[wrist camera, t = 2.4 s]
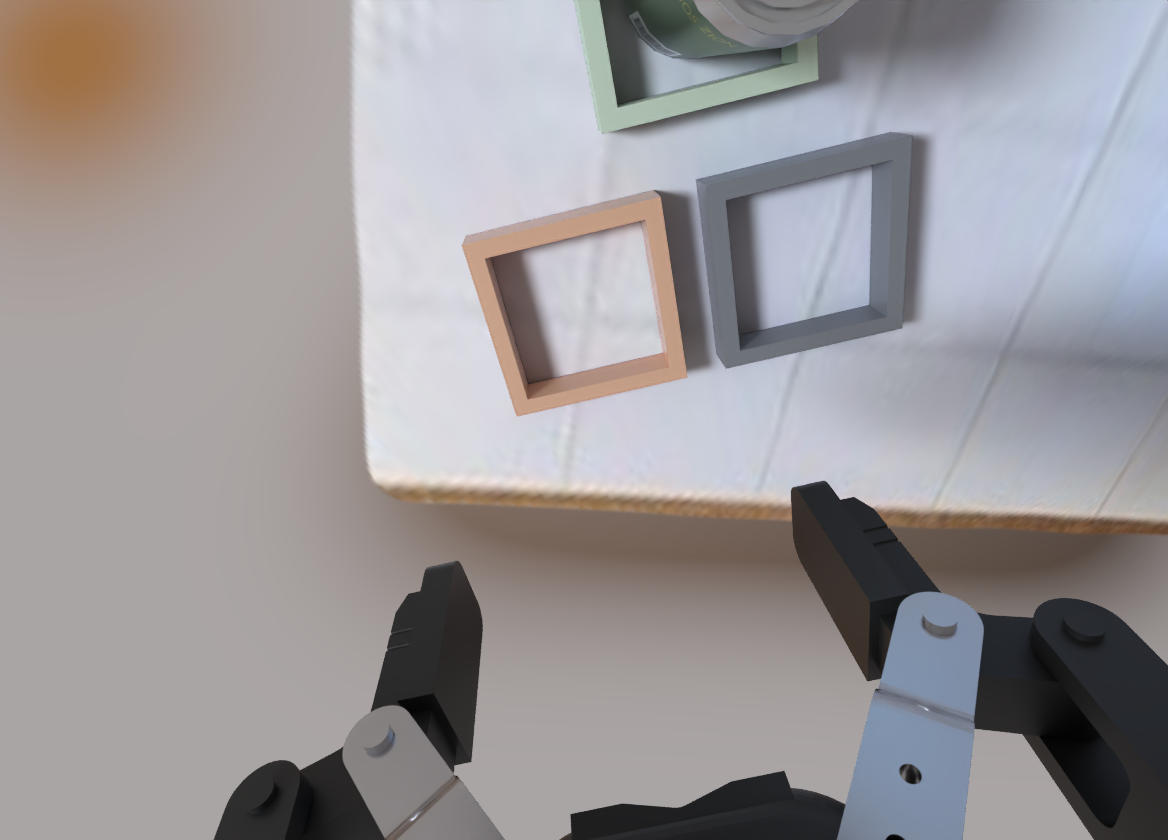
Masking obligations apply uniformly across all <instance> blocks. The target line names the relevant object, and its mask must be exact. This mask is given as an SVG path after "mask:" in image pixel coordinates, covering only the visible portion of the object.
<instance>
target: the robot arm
mask: <svg viewBox="0 0 1168 840" xmlns="http://www.w3.org/2000/svg"><path fill="white" fill-rule="evenodd" d="M791 505H792V524H793V538H794V543H795V548H796V551H797V554H798V557H799V559H800V561H801V563H802V565H803V567H804V569H805V571H806V572H807V574H808V576H809V578H810V580H811V581H812V583H813V585H814V586H815V589H816V590H817V592H818V594H819V596H820V597H821V599H822V601H823V603H824V605H825V606H826V608H827V610H828V612H829V613H830V615H831V617H832V619H833V621H834V622H835V624H836V626H837V628H838V630H839V631H840V633H841V635H842V637H843V639H844V640H845V642H846V644H847V646H848V647H849V649H850V651H851V653H852V655H853V656H854V658H855V660H856V662H857V664H858V665H859V667H860V669H861V671H862V673H863V674H864V676H865V678H866V680H867V681H872V680H877V679H881V682H880V685H879V689H876V690H875V692H874V694H873V698H872V701H871V705H870V709H869V713H868V717H867V721H866V725H865V730H864V733H863V737H862V741H861V745H860V749H859V753H858V758H857V761H856V765H855V769H854V773H853V777H852V781H851V785H850V789H849V793H848V797H847V801H846V805H845V804H843V803H841V802H839V801H837V800H835V799H833V798H830V797H828V796H825V795H822V794H819V793H816V792H813V791H808V790H803V789H795V788H790V785H789V782H788V779H787V777H786V774H785V772H784V771H782V772H776V773H771V774H767V775H762V776H757V777H752V778H747V779H742V780H737V781H732V782H730V783H728V784H726V785H724V786H722V787H720V788H718V789H716V790H714V791H712V792H710V793H709V794H707V795H705V796H703V797H701V798H699V799H697V800H695V801H693V802H692V803H689V804H687V805H685V806H683V807H679V808H670V807H657V806H644V805H633V804H618V805H613V806H609V807H604V808H599V809H594V810H589V811H584V812H579V813H574V814H571V832H572V833H570V834H568V835H566V836H564V837H563V838H561V839H560V840H962V839H963V831H964V821H965V812H966V803H967V794H968V784H969V776H970V766H971V757H972V747H973V739H974V729H982V730H991V731H1000V732H1010V733H1018V734H1023V736H1024V737H1025V739H1026V740H1027V741H1028V743H1029V744H1030V746H1031V747H1032V749H1033V750H1034V752H1035V753H1036V755H1037V756H1038V758H1039V759H1040V761H1041V762H1042V763H1043V765H1044V766H1045V768H1046V770H1047V771H1048V772H1049V774H1050V775H1051V777H1052V778H1053V780H1054V781H1055V783H1056V784H1057V786H1058V787H1059V789H1060V790H1061V792H1062V793H1063V795H1064V796H1065V797H1066V799H1067V801H1068V802H1069V803H1070V805H1071V806H1072V808H1073V809H1074V811H1075V812H1076V814H1077V815H1078V817H1079V818H1080V820H1081V821H1082V823H1083V824H1084V826H1085V827H1086V829H1087V830H1088V832H1089V833H1090V834H1091V836H1092V837H1093V839H1094V840H1168V665H1167V664H1166V663H1165V662H1164V661H1163V660H1162V659H1161V658H1160V657H1159V656H1158V655H1157V654H1156V653H1155V652H1154V651H1153V650H1152V649H1151V648H1150V647H1149V646H1148V645H1147V644H1146V643H1145V642H1144V641H1143V640H1142V639H1141V638H1140V637H1139V636H1138V635H1137V634H1136V633H1135V632H1134V631H1133V630H1132V629H1131V628H1130V627H1129V626H1128V625H1127V624H1126V623H1125V622H1124V621H1123V620H1121V619H1120V618H1119V617H1118V616H1116V615H1115V614H1114V613H1112V612H1110V611H1109V610H1107V609H1105V608H1103V607H1101V606H1098V605H1096V604H1093V603H1090V602H1087V601H1083V600H1078V599H1070V598H1059V599H1053V600H1049V601H1047V602H1044V603H1042V604H1041V605H1040V606H1039V607H1038V608H1037V609H1036V611H1035V613H1034V617H1033V618H1027V617H1010V616H994V615H986V614H981V613H977V612H976V611H975V610H974V609H972V607H970V606H969V605H968V604H966V603H965V602H963V601H962V600H960V599H958V598H956V597H953V596H950V595H947V594H943V593H941V592H940V591H939V590H938V588H937V587H936V586H935V585H934V583H933V582H932V581H931V580H930V578H929V577H928V576H927V575H926V573H925V572H924V571H923V570H922V568H921V567H920V566H919V565H918V563H917V562H916V561H915V560H914V558H913V557H912V556H911V555H910V553H909V552H908V551H907V550H906V548H905V547H904V546H903V545H902V543H901V542H898V538H897V537H896V536H895V535H894V534H893V532H892V531H891V530H890V528H889V529H888V527H887V525H886V523H885V522H884V521H883V520H882V518H881V517H880V516H879V515H878V513H877V512H876V511H875V510H874V509H873V508H871V507H870V506H868V505H866V504H865V503H863V502H861V501H860V500H858V499H856V498H855V497H852V498H847V499H843V500H840V499H839V498H838V496H837V495H836V493H835V492H834V491H833V489H832V488H831V487H830V485H829V484H828V483H827V482H826V481H820V482H815V483H811V484H806V485H802V486H797V487H793V488H792V490H791ZM482 627H483V624H482V616H481V611H480V607H479V604H478V602H477V599H476V597H475V595H474V593H473V590H472V588H471V586H470V583H469V581H468V579H467V576H466V574H465V572H464V570H463V567H462V565H461V564H460V563H459V561H454V562H450V563H445V564H441V565H436V566H432V567H428V568H426V570H425V573H424V577H423V582H422V587H421V591H419V592H415V593H411V594H408V595H407V597H406V599H405V600H404V601H403V603H402V604H401V606H400V607H399V609H398V610H397V612H396V614H395V618H394V622H393V626H392V630H391V634H392V635H391V636H390V638H389V642H388V646H387V649H388V651H387V652H386V654H385V658H384V662H383V666H382V670H381V674H380V678H379V682H378V686H377V690H376V694H375V697H374V702H373V705H372V709H371V712H370V713H369V714H367V715H366V716H364V717H363V718H362V719H361V720H360V721H359V722H358V723H357V724H356V725H355V726H354V728H353V729H352V730H351V731H350V733H349V735H348V737H347V738H346V741H345V744H344V747H342V748H341V749H339V750H338V751H336V752H334V753H332V754H331V755H328V756H327V757H325V758H323V759H321V760H319V761H317V762H315V763H313V764H311V765H310V766H307V767H306V768H304V769H302V770H299V769H298V768H297V767H296V766H295V765H294V764H293V763H292V762H290V761H285V760H279V761H274V762H271V763H268V764H266V765H264V766H262V767H260V768H258V769H257V770H255V771H254V772H253V773H251V774H250V775H249V776H248V777H247V778H246V779H245V780H243V782H242V783H241V784H240V785H239V786H238V787H237V788H236V790H235V791H234V793H233V794H232V796H231V797H230V799H229V801H228V803H227V806H226V808H225V811H224V813H223V816H222V819H221V821H220V824H219V827H218V830H217V833H216V835H215V838H214V840H505V839H504V838H503V836H502V835H501V834H500V832H499V831H498V830H497V828H496V827H495V825H494V824H493V823H492V822H491V820H490V819H489V817H488V816H487V815H486V813H485V812H484V811H483V809H482V808H481V806H480V805H479V804H478V802H477V801H476V800H475V798H474V797H473V796H472V794H471V793H470V792H469V790H468V789H467V787H466V786H465V785H464V783H463V782H462V781H461V780H460V779H459V777H458V776H455V775H454V765H458V764H463V763H468V762H471V758H472V747H473V736H474V724H475V713H476V712H475V711H476V701H477V689H478V677H479V666H480V655H481V643H482V631H483V628H482Z"/></svg>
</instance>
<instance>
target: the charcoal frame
mask: <svg viewBox="0 0 1168 840" xmlns="http://www.w3.org/2000/svg"><path fill="white" fill-rule="evenodd" d="M911 153H912V135H906V134H899V133H893V132H890V133H885V134H881V135H877V136H873V137H869V138H865V139H861V140H857V141H853V142H849V143H845V144H840V145H836V146H832V147H828V148H824V149H820V150H816V151H812V152H808V153H804V154H799V155H795V156H791V157H787V158H783V159H779V160H775V161H771V162H767V163H763V164H759V165H754V166H750V167H746V168H742V169H738V170H734V171H730V172H726V173H722V174H718V175H713V176H709V177H705V178H701V179H697V180H696V183H697V192H698V200H699V209H700V217H701V226H702V234H703V243H704V251H705V260H706V268H707V277H708V285H709V294H710V302H711V311H712V319H713V328H714V336H715V345H716V353H717V356H718V357H719V359H720V360H721V362H722V363H723V365H724V366H725V368H731V367H735V366H740V365H744V364H748V363H753V362H757V361H761V360H766V359H770V358H774V357H779V356H783V355H788V354H792V353H796V352H801V351H805V350H809V349H814V348H818V347H822V346H827V345H831V344H836V343H840V342H844V341H849V340H853V339H857V338H862V337H866V336H870V335H875V334H879V333H884V332H888V331H892V330H897V329H901V328H902V324H903V305H904V286H905V267H906V248H907V229H908V210H909V191H910V172H911ZM869 165H873V170H872V214H871V259H870V303H869V305H868V306H864V307H860V308H855V309H851V310H847V311H842V312H838V313H834V314H829V315H825V316H821V317H817V318H812V319H808V320H804V321H799V322H795V323H791V324H786V325H782V326H778V327H773V328H769V329H765V330H760V331H756V332H752V333H747V334H743V335H738V324H737V314H736V303H735V293H734V282H733V272H732V261H731V251H730V240H729V230H728V219H727V209H726V200H729V199H733V198H737V197H741V196H745V195H749V194H753V193H758V192H762V191H766V190H770V189H774V188H778V187H782V186H786V185H791V184H795V183H799V182H803V181H807V180H811V179H815V178H820V177H824V176H828V175H832V174H836V173H840V172H844V171H848V170H853V169H857V168H861V167H865V166H869Z"/></svg>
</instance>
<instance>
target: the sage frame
mask: <svg viewBox="0 0 1168 840" xmlns="http://www.w3.org/2000/svg"><path fill="white" fill-rule="evenodd" d="M574 4H575V9H576V15H577V20H578V25H579V31H580V36H581V41H582V47H583V52H584V57H585V62H586V68H587V73H588V78H589V84H590V89H591V94H592V100H593V105H594V110H595V116H596V121H597V126H598V131H599V132H601V133H602V134H604V133H608V132H612V131H616V130H620V129H624V128H628V127H632V126H636V125H640V124H644V123H648V122H652V121H656V120H660V119H664V118H668V117H672V116H676V115H680V114H684V113H688V112H692V111H696V110H700V109H704V108H708V107H712V106H716V105H720V104H724V103H728V102H732V101H736V100H740V99H744V98H748V97H752V96H756V95H760V94H764V93H768V92H772V91H776V90H780V89H784V88H788V87H792V86H796V85H800V84H804V83H808V82H812V81H816V80H818V38H817V35H815V36H813V37H810V38H808V39H805V40H802V41H799V42H796V43H794V44H791V45H788V46H785V47H781V53H782V64H778V65H774V66H770V67H766V68H762V69H758V70H754V71H750V72H746V73H742V74H738V75H734V76H730V77H726V78H722V79H718V80H714V81H710V82H706V83H702V84H698V85H694V86H690V87H686V88H682V89H678V90H675V91H671V92H667V93H663V94H659V95H655V96H651V97H647V98H643V99H639V100H635V101H631V102H627V103H623V104H619V105H617V101H616V95H615V90H614V84H613V78H612V72H611V66H610V60H609V54H608V48H607V43H606V37H605V31H604V25H603V19H602V13H601V7H600V1H599V0H574Z"/></svg>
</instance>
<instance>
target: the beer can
mask: <svg viewBox="0 0 1168 840" xmlns="http://www.w3.org/2000/svg"><path fill="white" fill-rule="evenodd" d="M623 1H624V5H625V9H626V14H627V16H628V18H629V20H630V22H631V24H632V25H633V27H634V29H635V31H636V33H637V34H638V36H639V37H640V38H641V39H642V40H643V41H644V42H646V43H647V44H648V45H649V46H650V47H651V48H652V49H653V50H654V51H657V52H659V53H662V54H664V55H666V56H669V57H671V58H701V57H709V56H717V55H725V54H733V53H741V52H749V51H757V50H765V49H773V48H781V47H785V46H788V45H791V44H794V43H796V42H799V41H802V40H805V39H808V38H810V37H813V36H815V35H817V34H818V33H819V32H821V31H822V30H823V29H825V28H826V27H827V26H828V25H830V24H831V23H832V22H834V21H835V20H836V19H838V18H839V17H840V16H842V15H843V14H844V13H845V12H846V11H847V9H848V8H850V7H851V6H852V5H854V4H855V3H856V2H858V0H623Z"/></svg>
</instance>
